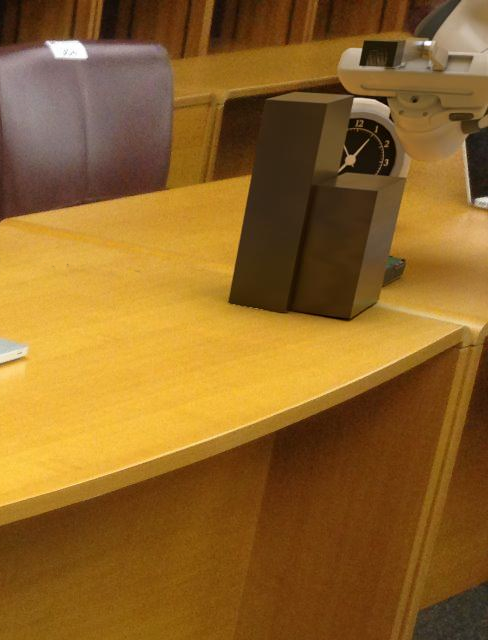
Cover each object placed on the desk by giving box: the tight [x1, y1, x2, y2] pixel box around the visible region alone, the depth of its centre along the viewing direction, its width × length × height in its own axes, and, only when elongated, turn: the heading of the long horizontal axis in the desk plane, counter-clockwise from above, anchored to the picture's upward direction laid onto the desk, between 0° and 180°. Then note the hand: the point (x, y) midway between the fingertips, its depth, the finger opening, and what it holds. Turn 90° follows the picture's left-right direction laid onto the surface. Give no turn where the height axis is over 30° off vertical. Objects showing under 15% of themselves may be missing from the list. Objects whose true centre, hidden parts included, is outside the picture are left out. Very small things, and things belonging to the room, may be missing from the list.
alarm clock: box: [338, 97, 412, 178], centre depth 251 cm, size 18×8×20 cm, turn 73°
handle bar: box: [359, 37, 429, 67], centre depth 199 cm, size 4×20×3 cm, turn 141°
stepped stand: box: [227, 91, 407, 320], centre depth 200 cm, size 15×16×26 cm
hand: (413, 44), depth 204 cm, fingers closed on handle bar, 2 cm apart
